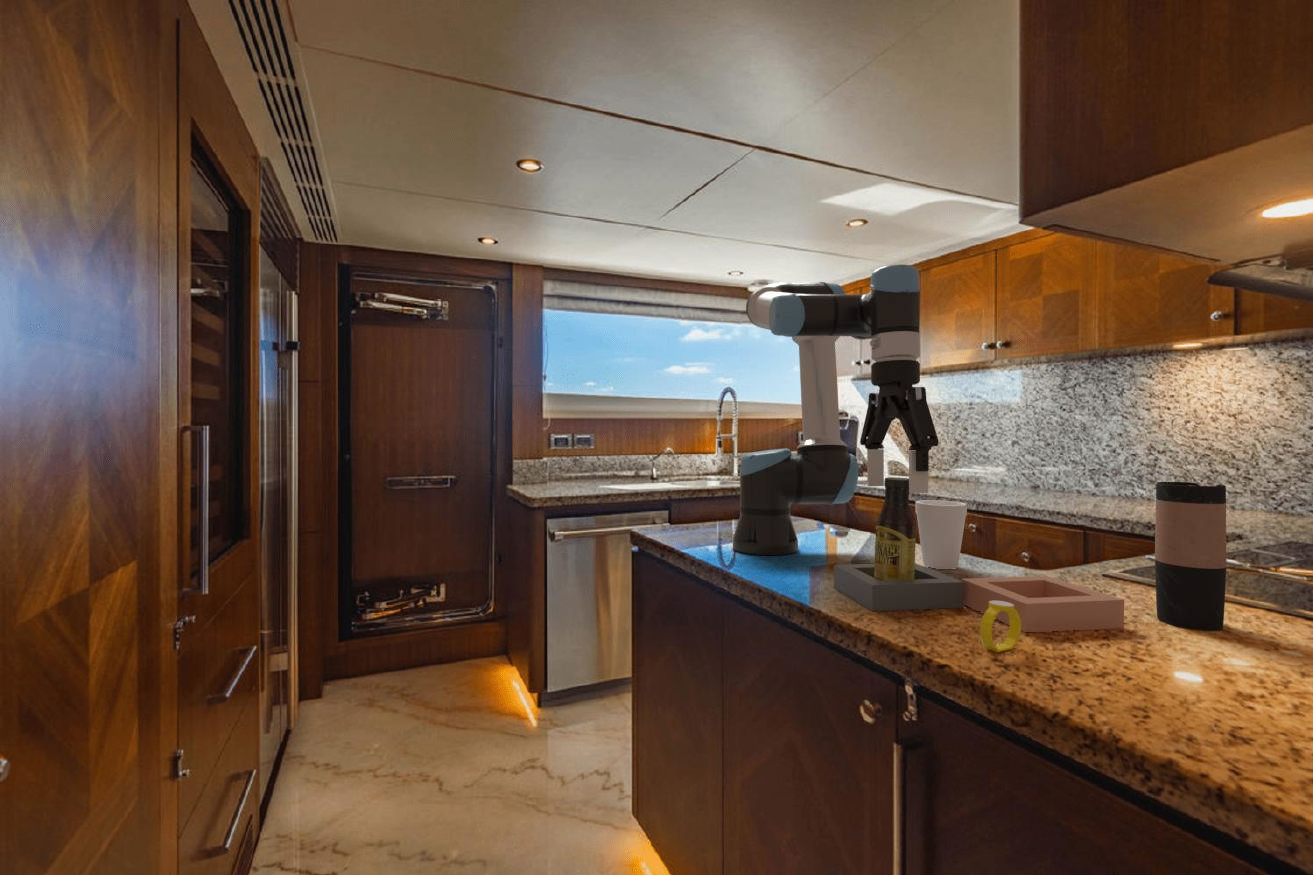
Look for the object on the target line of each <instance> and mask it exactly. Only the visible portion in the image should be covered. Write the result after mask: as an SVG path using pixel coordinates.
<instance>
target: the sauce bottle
mask: <svg viewBox="0 0 1313 875" xmlns="http://www.w3.org/2000/svg"><path fill="white" fill-rule="evenodd" d="M883 487H884V488H885V491H884V503H883V506H882V509H881V511H880V514H879V516H878V520H877V522H876V526H875V540H874V541H875V543H874V544H875V545H874V564H875V565H874V578H875V579H877V580H879V581H886V580H914V574H915V563H916V546H917V545H916V544H917V543H916V539H917V536H916V527H917V526H916V524H917V523H916V521H917V520H916V517H915V516H914V514H913V513H912V510H911V507H910V503H911V502H910V501H909V500H910V493H909V478H907V477H896V476H895V477H893V476H892V477H891V476H890V477H889V476H888V477H885V478H884V486H883Z"/></svg>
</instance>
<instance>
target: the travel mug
mask: <svg viewBox="0 0 1313 875" xmlns="http://www.w3.org/2000/svg"><path fill="white" fill-rule="evenodd" d="M1154 528H1155V533H1154V534H1155V535H1154V569H1155V570H1154V571H1155V574H1154V575H1155V593H1156V594H1155V601H1156V602H1155V603H1156V618H1157V619H1158V620H1159V621H1160V622H1163V623H1165V624H1168V625H1172V626H1175V627H1178V628H1184V629H1188V630H1189V629H1190V630H1195V631H1206V632H1207V631H1208V632H1209V631H1210V632H1211V631H1213V632H1214V631H1221V630H1223V628H1224V622H1225V621H1224V620H1225V606H1226V602H1225V600H1226V584H1227V583H1226V582H1227V581H1226V580H1227V487H1226V485H1225V484H1219V483H1218V484H1216V485H1212V486H1211V485H1200V484H1199V483H1197V482H1191V481H1190V482H1189V481H1158V482H1156V485H1155V527H1154Z"/></svg>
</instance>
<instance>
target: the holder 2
mask: <svg viewBox="0 0 1313 875" xmlns="http://www.w3.org/2000/svg"><path fill="white" fill-rule="evenodd" d="M960 581H962V582H963V604H964V605H963V606H965V605H966V606H965V607H967V606H968V607H967V608H969V607H970V608H969V609H971V610H974V611H976V612H978V611H980V612H983V613H985V612H986V610H987V609H988V608H989V601H1004V602H1009V603H1012V604H1013V605H1014V609H1016V611H1017V612H1018V615H1019V617H1020V620H1021V632H1022V631H1023V633H1025V632H1037V633H1053V632H1052V631H1058V632H1074V631H1073V630H1076V631H1077V630H1079V631H1093V630H1094V631H1095V630H1096V631H1097V630H1113V629H1114V630H1117V629H1125V599H1124V598H1119V597H1116V596H1113V595H1110V594H1107V593H1103V592H1100V591H1096V590H1093V589H1091V588H1087V587H1085V586H1081V585H1078V584H1075V583H1071V582H1068V581H1064V580H1061V579H1058V578H1055V577H1052V576H1048V575H1035V576H1032V575H1031V576H1030V575H1029V576H1027V575H1026V576H1006V577H1005V576H1001V577H997V576H996V577H977V578H975V577H973V578H972V577H971V578H961V579H960ZM980 612H979V613H980ZM983 613H982V614H983ZM995 618H996V619H998V620H1000V621H1002V622H1001V623H1003V622H1004V623H1003V624H1005V625H1007V624H1008V626H1009V625H1010V623H1009V616H1008V613H1007V611H1000V612H999V613H998V615H997V616H996V617H995ZM996 619H995V620H996ZM998 620H997V621H998ZM1000 621H999V622H1000ZM1067 630H1068V631H1067ZM1076 631H1075V632H1076Z"/></svg>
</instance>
